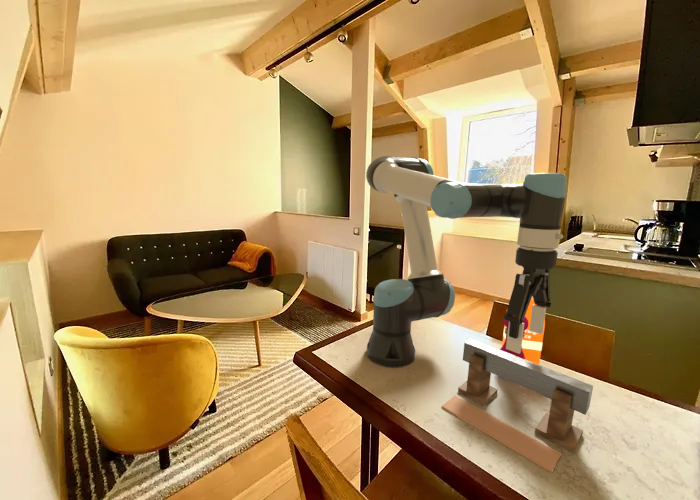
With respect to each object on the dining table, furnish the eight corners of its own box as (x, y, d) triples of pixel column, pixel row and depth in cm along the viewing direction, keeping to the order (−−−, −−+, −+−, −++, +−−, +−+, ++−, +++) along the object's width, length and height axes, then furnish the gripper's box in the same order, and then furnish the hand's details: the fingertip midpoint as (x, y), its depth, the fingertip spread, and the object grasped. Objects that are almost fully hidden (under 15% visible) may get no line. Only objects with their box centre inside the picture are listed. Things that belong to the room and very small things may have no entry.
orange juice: (500, 351, 100) (508, 293, 96) (531, 356, 98) (539, 296, 94) (506, 364, 92) (514, 301, 89) (538, 369, 90) (548, 305, 86)
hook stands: (458, 391, 80) (461, 352, 77) (471, 380, 84) (475, 343, 82) (573, 453, 61) (582, 404, 59) (582, 435, 66) (590, 389, 64)
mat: (441, 407, 74) (441, 405, 74) (454, 396, 78) (454, 395, 78) (551, 473, 57) (551, 471, 57) (560, 455, 61) (561, 453, 61)
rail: (462, 360, 80) (464, 342, 79) (468, 355, 82) (470, 338, 81) (585, 415, 61) (589, 392, 60) (589, 407, 63) (593, 385, 62)
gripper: (536, 258, 54) (522, 368, 58) (573, 244, 71) (561, 330, 74) (493, 252, 60) (483, 352, 64) (537, 240, 76) (527, 320, 80)
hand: (525, 341), depth 69 cm, fingers open, 13 cm apart
